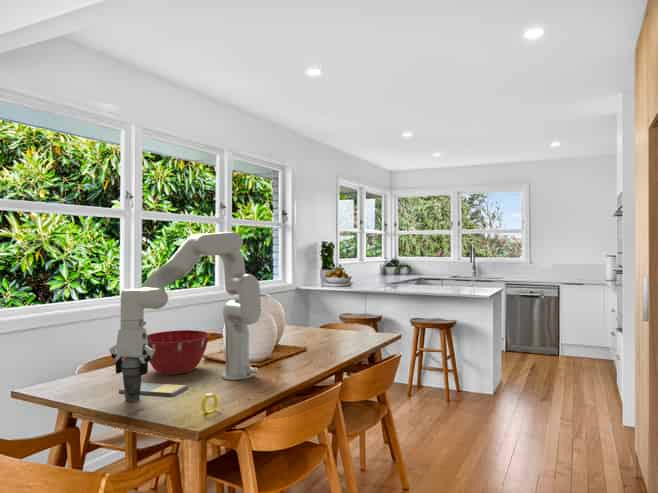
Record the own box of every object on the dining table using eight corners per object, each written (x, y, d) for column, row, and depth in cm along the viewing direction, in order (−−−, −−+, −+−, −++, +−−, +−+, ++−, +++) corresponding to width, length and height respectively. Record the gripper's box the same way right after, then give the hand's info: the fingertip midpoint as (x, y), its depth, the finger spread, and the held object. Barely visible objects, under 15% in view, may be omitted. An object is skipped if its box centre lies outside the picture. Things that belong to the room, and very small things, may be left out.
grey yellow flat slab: (187, 388, 185) (187, 385, 185) (172, 396, 175) (172, 392, 175) (135, 385, 190) (135, 382, 190) (118, 392, 180) (118, 389, 180)
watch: (206, 416, 155) (205, 398, 154) (199, 415, 156) (198, 396, 156) (219, 409, 160) (218, 391, 159) (213, 408, 161) (212, 390, 161)
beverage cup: (125, 397, 175) (124, 340, 175) (146, 396, 176) (145, 340, 176) (118, 403, 168) (117, 344, 168) (140, 402, 168) (139, 344, 169)
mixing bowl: (190, 381, 196) (190, 342, 196) (126, 378, 202) (126, 340, 202) (220, 365, 224) (220, 330, 224) (163, 362, 230) (162, 329, 230)
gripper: (160, 323, 174) (159, 372, 174) (117, 322, 178) (117, 369, 178) (147, 326, 167) (147, 377, 166) (103, 325, 171) (102, 374, 171)
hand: (131, 373), depth 172 cm, fingers open, 9 cm apart
